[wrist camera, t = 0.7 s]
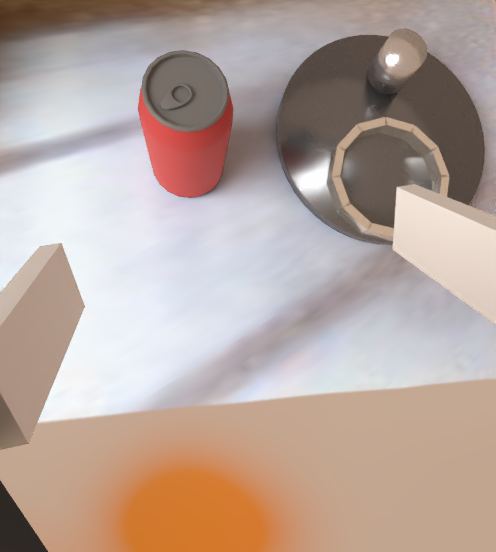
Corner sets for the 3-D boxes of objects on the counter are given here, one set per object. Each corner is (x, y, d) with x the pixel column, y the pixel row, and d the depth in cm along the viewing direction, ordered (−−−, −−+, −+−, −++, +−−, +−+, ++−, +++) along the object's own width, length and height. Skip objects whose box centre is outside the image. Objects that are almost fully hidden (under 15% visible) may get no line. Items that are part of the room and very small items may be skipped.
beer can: (137, 160, 35) (110, 77, 24) (192, 120, 37) (192, 24, 25) (183, 213, 35) (178, 157, 24) (236, 172, 37) (257, 100, 25)
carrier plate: (230, 138, 37) (236, 108, 32) (365, 5, 41) (389, -41, 36) (396, 289, 37) (428, 283, 32) (512, 142, 42) (556, 116, 37)
